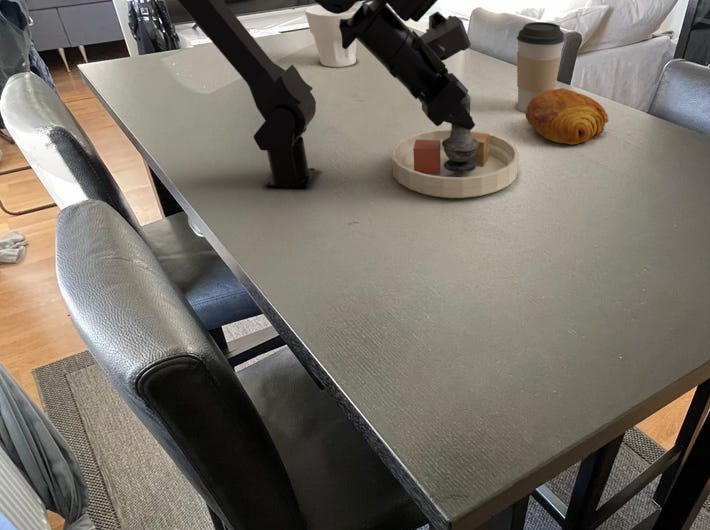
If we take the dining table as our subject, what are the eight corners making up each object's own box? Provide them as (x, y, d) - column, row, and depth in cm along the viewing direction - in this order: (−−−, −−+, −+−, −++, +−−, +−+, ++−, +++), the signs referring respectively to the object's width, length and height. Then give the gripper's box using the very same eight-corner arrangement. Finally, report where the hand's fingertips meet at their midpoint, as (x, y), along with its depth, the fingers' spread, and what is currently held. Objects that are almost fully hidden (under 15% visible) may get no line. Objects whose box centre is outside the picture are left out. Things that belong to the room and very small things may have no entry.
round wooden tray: (519, 202, 88) (521, 180, 86) (385, 199, 89) (383, 177, 86) (514, 150, 103) (516, 130, 101) (399, 148, 103) (398, 127, 101)
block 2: (483, 166, 96) (484, 142, 94) (460, 164, 97) (460, 139, 94) (488, 157, 99) (489, 133, 96) (466, 155, 100) (466, 131, 97)
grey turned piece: (444, 174, 91) (444, 92, 83) (439, 159, 96) (439, 79, 87) (481, 172, 92) (485, 90, 84) (474, 157, 96) (477, 78, 88)
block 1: (439, 174, 94) (438, 149, 91) (414, 173, 94) (413, 148, 91) (440, 164, 97) (440, 139, 94) (416, 163, 97) (415, 139, 94)
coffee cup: (505, 110, 118) (510, 25, 108) (522, 98, 124) (529, 16, 114) (546, 118, 115) (555, 31, 105) (562, 105, 121) (573, 21, 111)
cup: (306, 58, 144) (298, 6, 137) (355, 53, 148) (350, 2, 141) (319, 72, 136) (311, 17, 129) (370, 66, 140) (366, 12, 132)
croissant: (542, 161, 105) (548, 117, 99) (515, 119, 114) (519, 77, 108) (615, 151, 108) (626, 108, 101) (583, 111, 117) (591, 69, 111)
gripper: (453, 9, 71) (529, 100, 81) (418, -18, 84) (487, 63, 94) (393, 84, 74) (473, 162, 84) (368, 46, 87) (439, 118, 97)
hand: (469, 123), depth 90 cm, fingers closed on grey turned piece, 3 cm apart
